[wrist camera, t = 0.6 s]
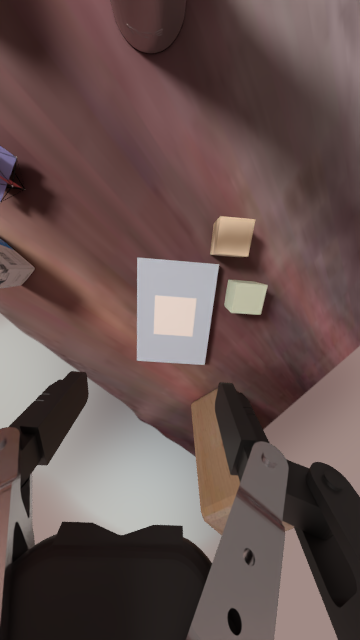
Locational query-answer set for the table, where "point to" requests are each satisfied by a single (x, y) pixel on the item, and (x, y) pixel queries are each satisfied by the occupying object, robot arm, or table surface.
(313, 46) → the table surface
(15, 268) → the ink box
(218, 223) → the maple block
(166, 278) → the board
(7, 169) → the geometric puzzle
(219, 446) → the wooden block
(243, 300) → the sage cap block
